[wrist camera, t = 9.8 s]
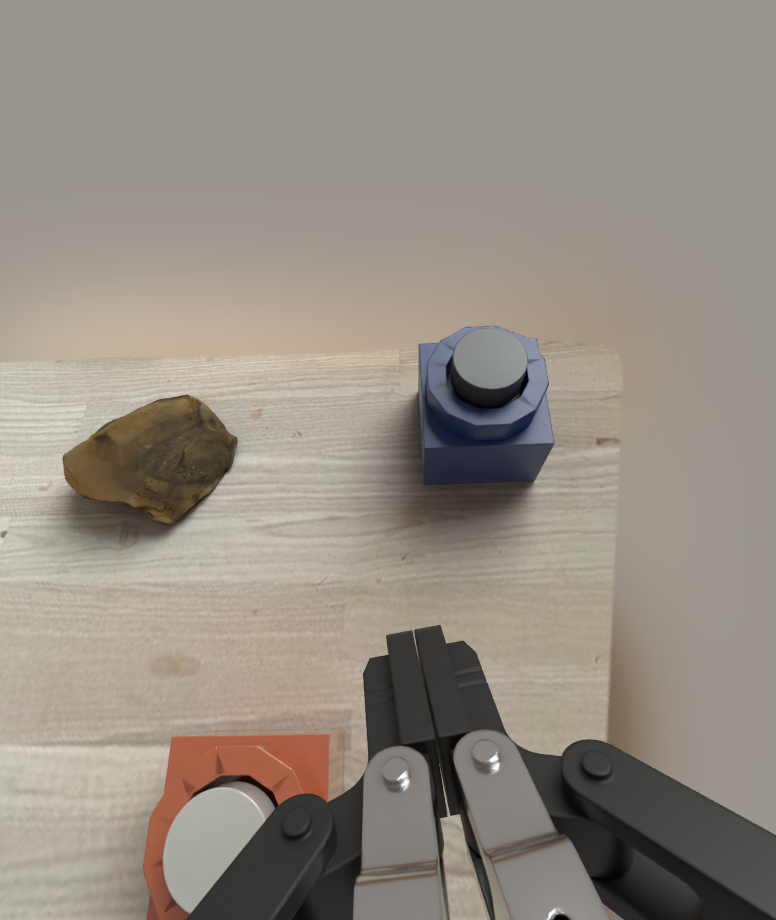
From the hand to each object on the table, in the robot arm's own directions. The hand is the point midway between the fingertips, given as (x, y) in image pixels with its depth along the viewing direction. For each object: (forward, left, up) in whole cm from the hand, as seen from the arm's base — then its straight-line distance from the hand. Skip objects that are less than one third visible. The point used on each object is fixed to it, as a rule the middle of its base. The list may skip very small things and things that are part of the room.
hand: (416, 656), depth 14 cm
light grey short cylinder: (+3, +10, -13) cm, 17 cm away
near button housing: (+6, -17, -20) cm, 27 cm away
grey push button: (+6, -17, -13) cm, 22 cm away
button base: (+3, +10, -20) cm, 23 cm away
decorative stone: (+24, -2, -20) cm, 32 cm away
